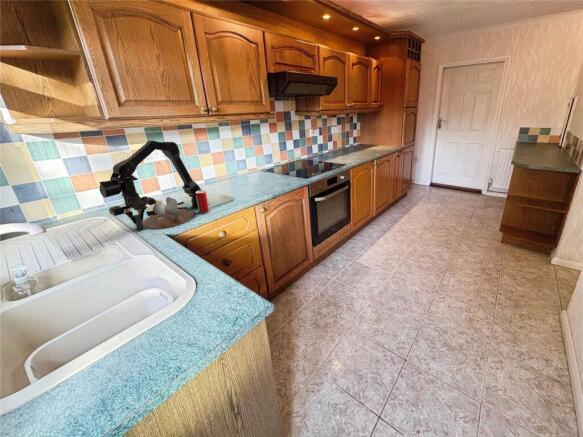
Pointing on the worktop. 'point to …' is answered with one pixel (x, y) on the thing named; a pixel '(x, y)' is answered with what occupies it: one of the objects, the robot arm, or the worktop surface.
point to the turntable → (163, 220)
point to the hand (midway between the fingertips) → (138, 222)
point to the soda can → (202, 201)
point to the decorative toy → (166, 208)
